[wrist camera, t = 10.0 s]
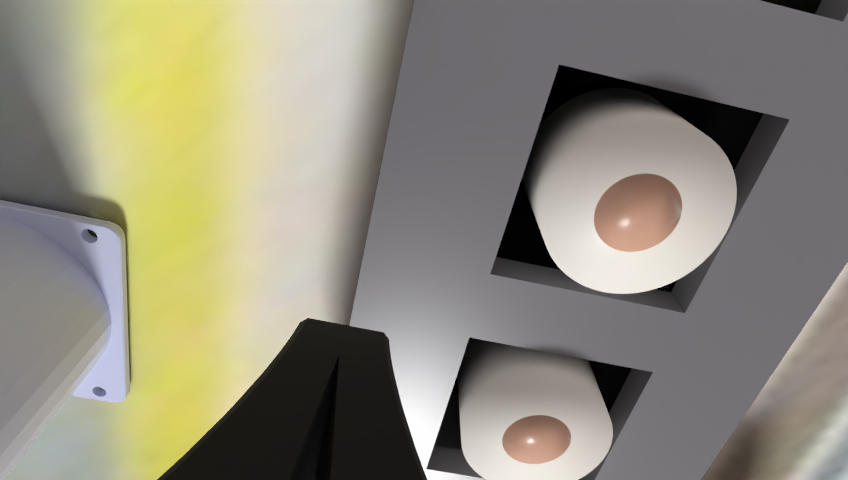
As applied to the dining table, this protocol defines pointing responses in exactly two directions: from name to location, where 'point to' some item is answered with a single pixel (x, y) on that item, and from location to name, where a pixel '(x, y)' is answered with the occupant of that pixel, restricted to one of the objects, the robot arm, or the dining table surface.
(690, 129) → the button middle
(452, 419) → the mount
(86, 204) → the dining table surface
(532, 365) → the button
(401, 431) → the robot arm
